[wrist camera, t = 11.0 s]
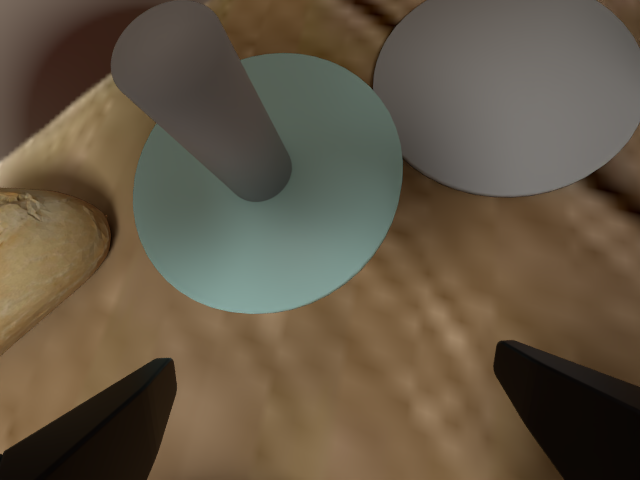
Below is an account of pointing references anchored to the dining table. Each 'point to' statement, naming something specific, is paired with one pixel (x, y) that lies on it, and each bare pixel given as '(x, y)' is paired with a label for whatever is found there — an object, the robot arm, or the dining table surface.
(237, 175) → the lid
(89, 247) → the bread roll
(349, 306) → the dining table surface
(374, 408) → the dining table surface
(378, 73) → the mat
